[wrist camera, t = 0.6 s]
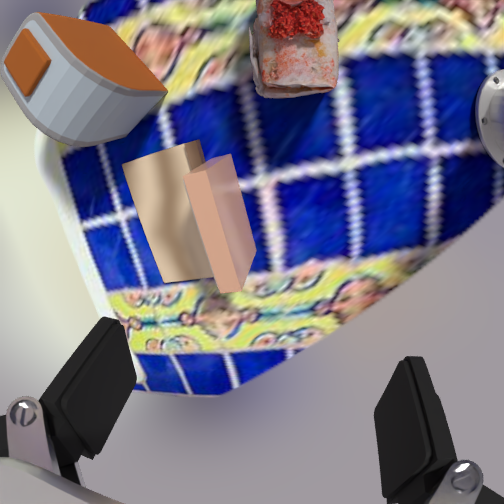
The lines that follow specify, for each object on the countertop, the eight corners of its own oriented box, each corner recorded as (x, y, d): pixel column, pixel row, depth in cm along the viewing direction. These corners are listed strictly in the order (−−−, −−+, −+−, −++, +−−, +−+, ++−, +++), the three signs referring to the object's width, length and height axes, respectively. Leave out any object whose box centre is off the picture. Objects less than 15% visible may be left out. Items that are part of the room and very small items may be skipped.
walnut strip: (199, 139, 33) (195, 140, 32) (237, 271, 40) (235, 276, 39) (188, 142, 34) (184, 143, 33) (227, 273, 40) (224, 277, 39)
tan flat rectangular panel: (188, 142, 34) (186, 143, 33) (227, 273, 40) (226, 275, 40) (124, 163, 36) (121, 164, 36) (166, 280, 43) (164, 282, 42)
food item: (338, 99, 29) (350, 96, 20) (262, 100, 30) (244, 98, 22) (328, -15, 23) (333, -54, 14) (253, -12, 24) (232, -49, 16)
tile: (231, 153, 34) (205, 170, 26) (256, 250, 38) (241, 291, 31) (210, 158, 34) (179, 176, 26) (236, 253, 39) (217, 293, 31)
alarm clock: (66, 67, 31) (-11, 71, 19) (104, 19, 28) (28, 4, 16) (123, 139, 35) (47, 163, 23) (169, 90, 31) (97, 91, 19)
